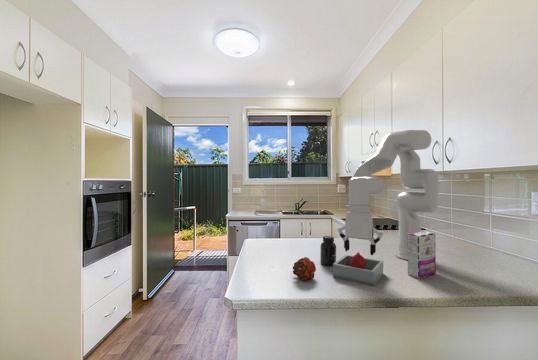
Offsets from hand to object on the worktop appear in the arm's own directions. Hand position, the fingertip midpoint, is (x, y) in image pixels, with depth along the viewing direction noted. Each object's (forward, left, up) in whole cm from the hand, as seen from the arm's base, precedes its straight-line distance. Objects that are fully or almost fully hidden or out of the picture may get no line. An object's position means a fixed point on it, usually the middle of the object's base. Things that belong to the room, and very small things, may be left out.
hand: (359, 252), depth 102 cm
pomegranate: (0, 0, -8) cm, 8 cm away
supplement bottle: (-5, -15, -9) cm, 19 cm away
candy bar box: (-15, +20, -9) cm, 27 cm away
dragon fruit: (+16, -16, -9) cm, 24 cm away
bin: (+1, 0, -9) cm, 9 cm away
